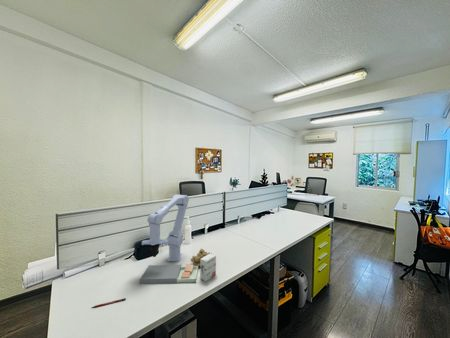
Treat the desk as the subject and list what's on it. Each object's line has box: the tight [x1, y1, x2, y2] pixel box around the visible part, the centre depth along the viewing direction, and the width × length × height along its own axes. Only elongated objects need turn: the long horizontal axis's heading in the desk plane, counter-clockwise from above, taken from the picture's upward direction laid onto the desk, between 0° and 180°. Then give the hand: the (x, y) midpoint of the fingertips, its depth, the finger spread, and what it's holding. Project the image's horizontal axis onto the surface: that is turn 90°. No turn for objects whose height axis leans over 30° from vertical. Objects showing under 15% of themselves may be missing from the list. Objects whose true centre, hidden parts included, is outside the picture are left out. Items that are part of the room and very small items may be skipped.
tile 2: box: [181, 272, 190, 279], centre depth 101 cm, size 4×4×2 cm
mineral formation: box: [190, 248, 212, 267], centre depth 116 cm, size 8×13×15 cm
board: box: [139, 264, 182, 285], centre depth 104 cm, size 13×20×2 cm, turn 93°
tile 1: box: [184, 263, 194, 274], centre depth 107 cm, size 4×4×2 cm
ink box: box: [199, 252, 217, 282], centre depth 103 cm, size 9×5×12 cm, turn 141°
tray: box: [176, 265, 199, 284], centre depth 104 cm, size 12×10×2 cm
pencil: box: [91, 297, 126, 309], centre depth 83 cm, size 1×14×1 cm, turn 112°
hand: (154, 256), depth 105 cm, fingers closed
